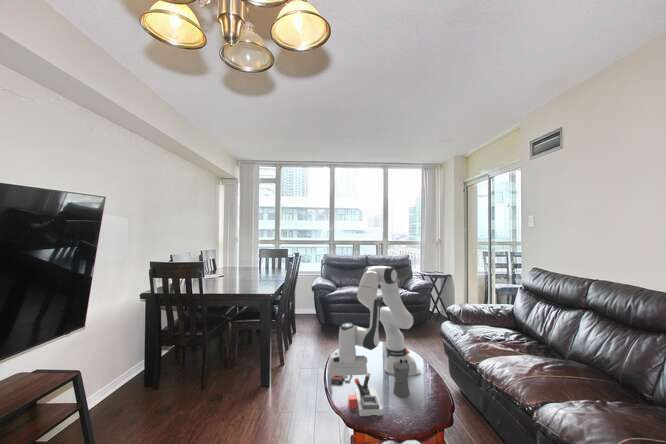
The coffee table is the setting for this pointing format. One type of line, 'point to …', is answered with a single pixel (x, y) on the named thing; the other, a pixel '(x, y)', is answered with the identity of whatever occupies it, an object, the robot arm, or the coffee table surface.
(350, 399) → the lockout cap
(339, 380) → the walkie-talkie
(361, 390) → the lever tagged
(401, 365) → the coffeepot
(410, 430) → the coffee table surface
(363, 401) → the white compartment tray
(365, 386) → the lever plain
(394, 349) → the robot arm
